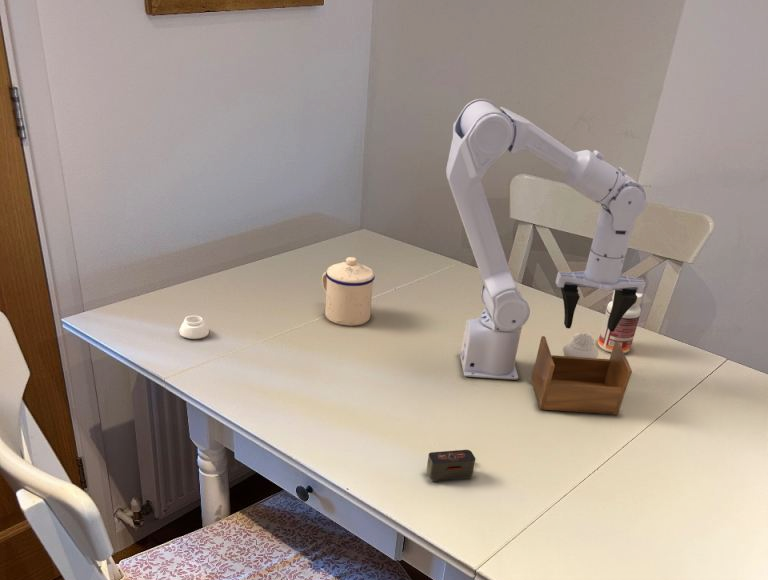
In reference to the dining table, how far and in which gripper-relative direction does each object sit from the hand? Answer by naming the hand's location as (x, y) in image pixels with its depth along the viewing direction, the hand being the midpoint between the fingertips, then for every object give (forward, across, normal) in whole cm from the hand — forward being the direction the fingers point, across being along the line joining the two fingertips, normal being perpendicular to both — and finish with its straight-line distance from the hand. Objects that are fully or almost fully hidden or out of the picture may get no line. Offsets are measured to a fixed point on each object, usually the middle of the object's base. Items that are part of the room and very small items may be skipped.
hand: (588, 327), depth 136 cm
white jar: (+8, -69, +3) cm, 69 cm away
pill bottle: (+9, +9, +10) cm, 16 cm away
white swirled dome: (+9, 0, 0) cm, 9 cm away
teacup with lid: (+9, -43, +16) cm, 47 cm away
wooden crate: (+8, -3, -10) cm, 13 cm away
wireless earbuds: (+9, -26, -34) cm, 43 cm away
